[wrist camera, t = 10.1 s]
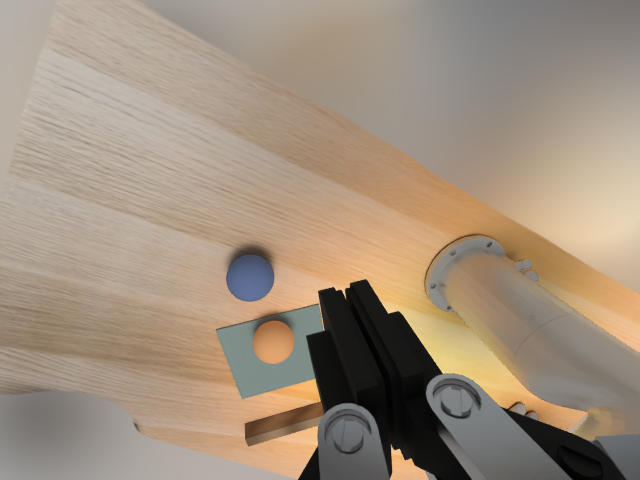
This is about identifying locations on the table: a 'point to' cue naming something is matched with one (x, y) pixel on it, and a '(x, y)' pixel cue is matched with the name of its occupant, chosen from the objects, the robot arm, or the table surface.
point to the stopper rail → (283, 424)
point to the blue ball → (250, 278)
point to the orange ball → (273, 342)
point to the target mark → (265, 376)
